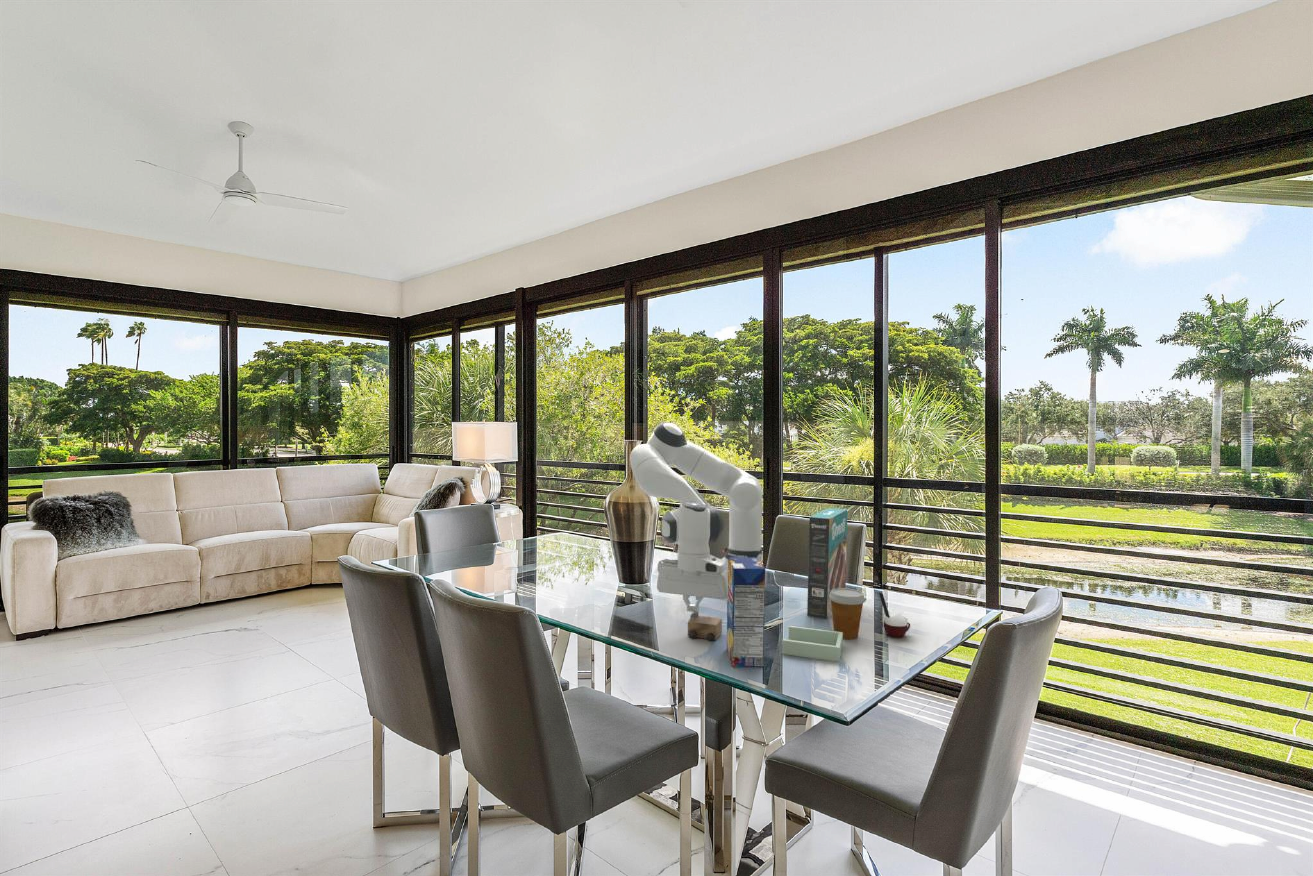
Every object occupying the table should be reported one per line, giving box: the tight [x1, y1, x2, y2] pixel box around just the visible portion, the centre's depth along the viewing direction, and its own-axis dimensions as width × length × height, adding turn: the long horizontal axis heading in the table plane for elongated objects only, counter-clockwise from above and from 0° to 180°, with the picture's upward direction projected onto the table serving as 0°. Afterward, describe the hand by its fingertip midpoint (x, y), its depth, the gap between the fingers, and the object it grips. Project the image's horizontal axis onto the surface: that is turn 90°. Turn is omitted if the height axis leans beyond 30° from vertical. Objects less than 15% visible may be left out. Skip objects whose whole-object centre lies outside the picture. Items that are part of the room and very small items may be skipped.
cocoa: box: [878, 592, 911, 639], centre depth 180 cm, size 10×6×12 cm, turn 81°
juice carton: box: [726, 557, 766, 669], centre depth 162 cm, size 12×8×24 cm, turn 0°
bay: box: [781, 625, 844, 663], centre depth 169 cm, size 14×12×4 cm
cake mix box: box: [806, 507, 849, 620], centre depth 204 cm, size 22×6×30 cm, turn 150°
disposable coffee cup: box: [829, 587, 866, 640], centre depth 180 cm, size 10×10×12 cm
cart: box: [687, 610, 723, 642], centre depth 179 cm, size 8×8×6 cm
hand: (692, 611), depth 180 cm, fingers closed
